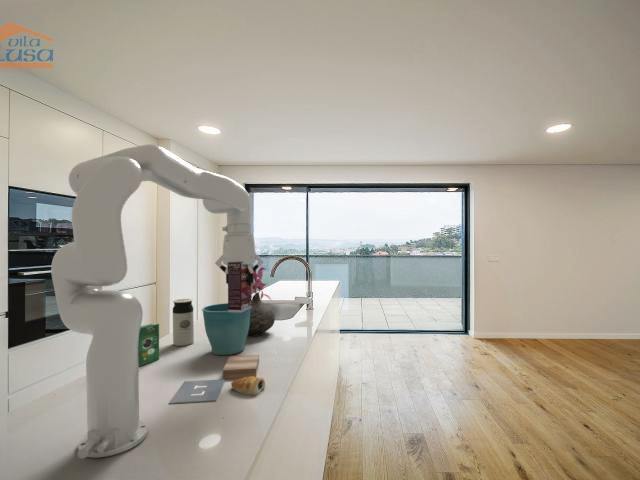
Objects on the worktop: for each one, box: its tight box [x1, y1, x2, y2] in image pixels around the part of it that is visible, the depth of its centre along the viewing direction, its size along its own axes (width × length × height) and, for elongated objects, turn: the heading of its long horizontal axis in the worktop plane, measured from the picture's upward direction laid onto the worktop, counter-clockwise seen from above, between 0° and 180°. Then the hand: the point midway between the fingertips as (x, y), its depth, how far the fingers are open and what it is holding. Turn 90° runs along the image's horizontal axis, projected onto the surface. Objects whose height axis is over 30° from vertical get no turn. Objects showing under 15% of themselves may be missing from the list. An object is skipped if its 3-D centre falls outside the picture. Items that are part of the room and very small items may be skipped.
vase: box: [247, 266, 276, 336], centre depth 159 cm, size 17×17×30 cm
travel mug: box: [172, 298, 195, 347], centre depth 146 cm, size 8×8×18 cm
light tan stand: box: [222, 354, 260, 379], centre depth 114 cm, size 13×10×2 cm
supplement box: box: [227, 262, 252, 313], centre depth 114 cm, size 9×5×16 cm, turn 169°
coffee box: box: [138, 322, 160, 367], centre depth 123 cm, size 8×3×13 cm, turn 156°
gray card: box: [168, 378, 226, 405], centre depth 99 cm, size 14×12×1 cm
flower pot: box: [201, 302, 250, 356], centre depth 135 cm, size 18×18×17 cm
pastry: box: [230, 376, 266, 396], centre depth 99 cm, size 9×7×4 cm
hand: (240, 285), depth 114 cm, fingers closed on supplement box, 5 cm apart
